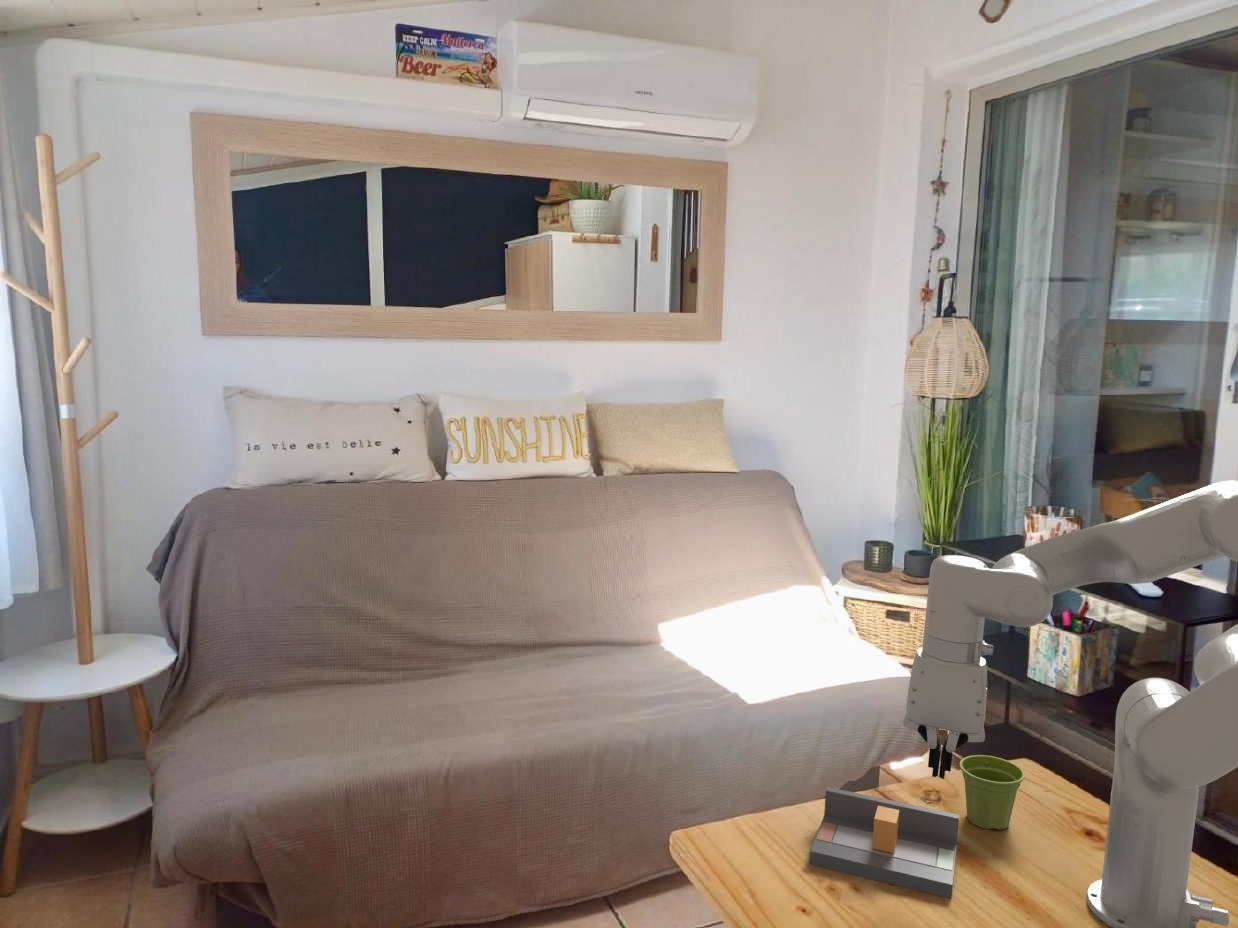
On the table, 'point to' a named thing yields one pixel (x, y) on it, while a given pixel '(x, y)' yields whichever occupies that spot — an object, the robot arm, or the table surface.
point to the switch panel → (913, 865)
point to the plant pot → (990, 789)
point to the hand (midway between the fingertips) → (938, 773)
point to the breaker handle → (885, 829)
